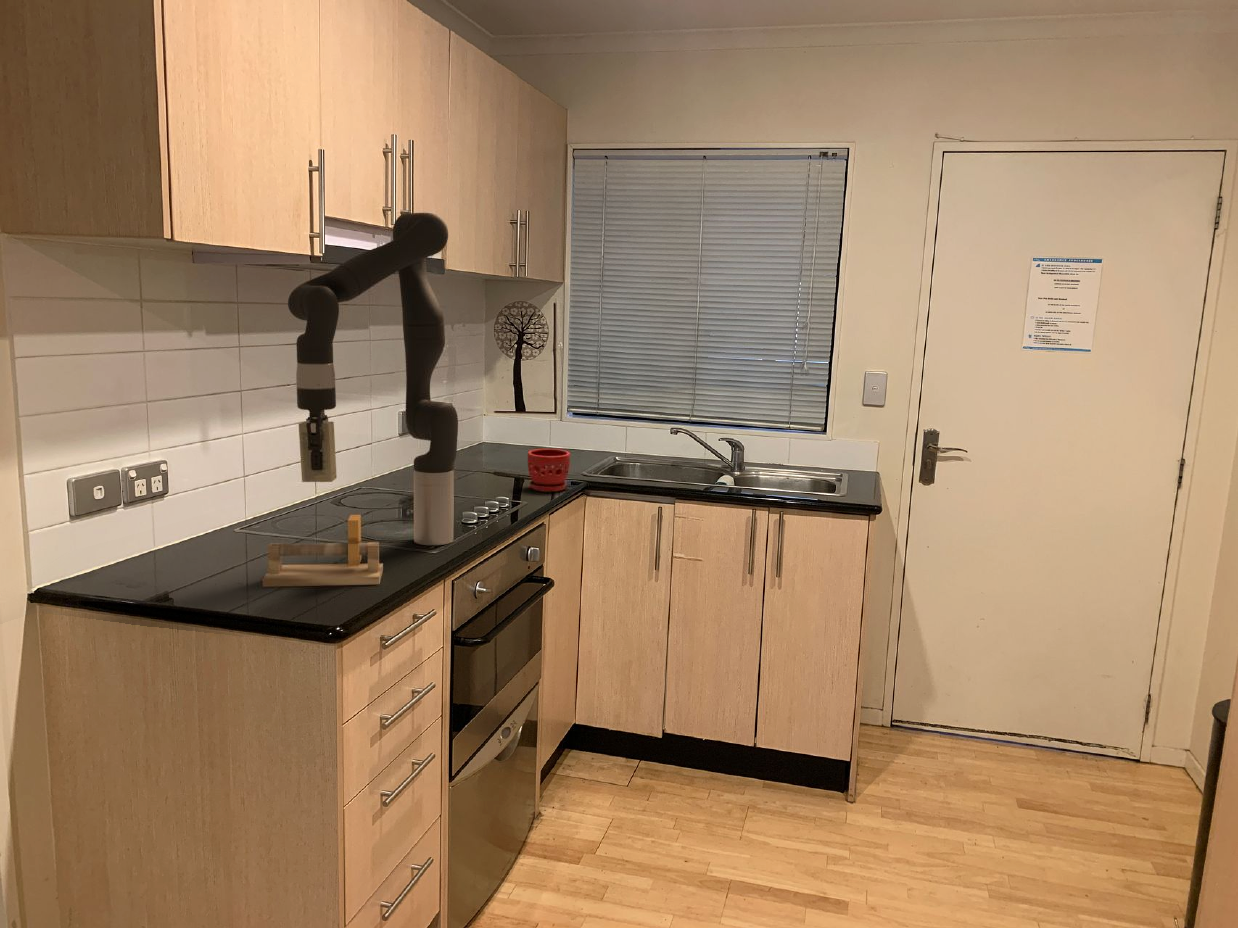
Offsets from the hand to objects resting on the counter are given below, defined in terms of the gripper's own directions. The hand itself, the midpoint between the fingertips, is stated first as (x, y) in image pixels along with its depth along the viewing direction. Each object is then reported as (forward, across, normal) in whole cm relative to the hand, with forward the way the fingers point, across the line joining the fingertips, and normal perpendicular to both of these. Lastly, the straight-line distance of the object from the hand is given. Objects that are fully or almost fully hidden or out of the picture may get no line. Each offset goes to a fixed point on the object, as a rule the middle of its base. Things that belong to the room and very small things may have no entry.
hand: (318, 467), depth 188 cm
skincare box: (+3, 0, 0) cm, 3 cm away
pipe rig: (+21, -9, -2) cm, 23 cm away
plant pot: (+23, +83, -58) cm, 104 cm away
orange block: (+18, -9, -7) cm, 21 cm away
